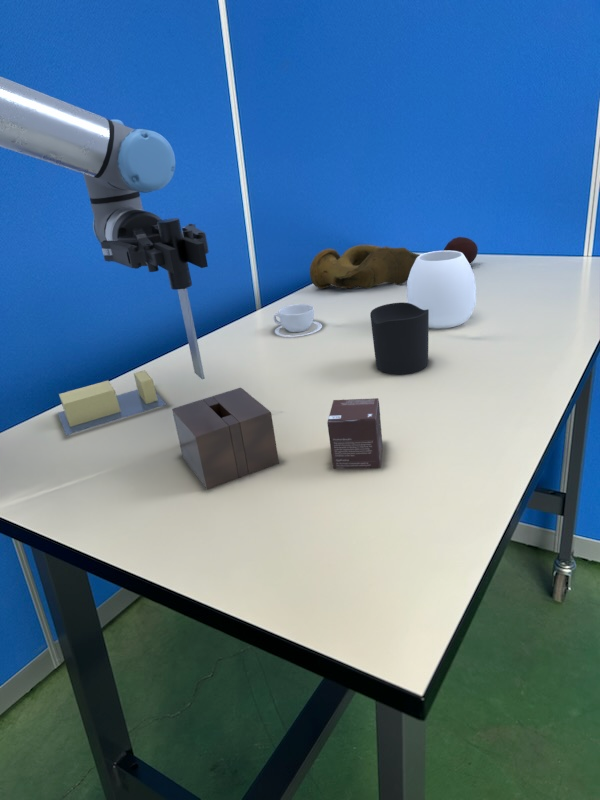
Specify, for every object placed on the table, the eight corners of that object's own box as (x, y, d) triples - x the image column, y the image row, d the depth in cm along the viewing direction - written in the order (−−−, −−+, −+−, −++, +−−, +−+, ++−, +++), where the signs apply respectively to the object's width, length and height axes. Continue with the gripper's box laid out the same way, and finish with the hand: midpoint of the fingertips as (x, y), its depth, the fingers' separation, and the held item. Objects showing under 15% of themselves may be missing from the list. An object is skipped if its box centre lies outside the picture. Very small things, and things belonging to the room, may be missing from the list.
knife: (194, 382, 80) (160, 223, 71) (186, 375, 82) (154, 221, 74) (212, 376, 81) (182, 219, 72) (205, 369, 83) (174, 217, 75)
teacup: (326, 322, 133) (324, 301, 131) (316, 338, 124) (313, 316, 122) (282, 323, 136) (279, 302, 134) (268, 339, 127) (265, 317, 125)
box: (383, 447, 82) (380, 397, 79) (381, 471, 77) (377, 419, 74) (338, 448, 83) (332, 399, 80) (332, 472, 78) (326, 420, 75)
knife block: (207, 493, 77) (195, 436, 74) (183, 460, 86) (171, 408, 82) (279, 466, 81) (271, 411, 78) (249, 437, 89) (240, 387, 86)
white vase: (396, 330, 123) (392, 262, 117) (426, 310, 132) (424, 246, 126) (459, 337, 115) (458, 265, 109) (486, 315, 124) (487, 248, 119)
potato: (483, 267, 158) (483, 236, 154) (449, 273, 157) (448, 242, 153) (470, 261, 165) (470, 231, 162) (436, 266, 164) (436, 237, 161)
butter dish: (67, 440, 96) (66, 434, 95) (59, 418, 104) (57, 412, 103) (167, 409, 102) (166, 404, 101) (151, 390, 110) (150, 385, 109)
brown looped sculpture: (370, 273, 136) (300, 250, 149) (379, 319, 145) (312, 294, 158) (421, 230, 143) (350, 212, 157) (426, 277, 152) (358, 256, 166)
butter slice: (146, 404, 102) (140, 382, 100) (138, 394, 106) (133, 373, 105) (157, 400, 103) (152, 378, 101) (150, 391, 107) (145, 369, 105)
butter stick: (70, 427, 98) (63, 404, 96) (65, 416, 102) (58, 394, 100) (120, 411, 101) (114, 389, 99) (114, 401, 105) (108, 380, 103)
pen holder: (431, 356, 109) (430, 301, 104) (428, 378, 100) (426, 319, 96) (378, 357, 111) (374, 303, 107) (370, 378, 103) (366, 321, 99)
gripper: (194, 251, 94) (256, 276, 75) (90, 273, 88) (128, 306, 69) (184, 200, 91) (247, 212, 72) (75, 219, 85) (112, 238, 66)
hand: (188, 258), depth 70 cm, fingers closed on knife, 3 cm apart
